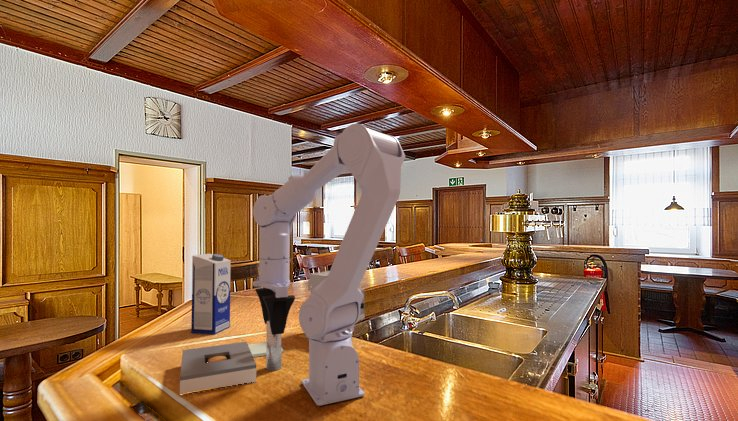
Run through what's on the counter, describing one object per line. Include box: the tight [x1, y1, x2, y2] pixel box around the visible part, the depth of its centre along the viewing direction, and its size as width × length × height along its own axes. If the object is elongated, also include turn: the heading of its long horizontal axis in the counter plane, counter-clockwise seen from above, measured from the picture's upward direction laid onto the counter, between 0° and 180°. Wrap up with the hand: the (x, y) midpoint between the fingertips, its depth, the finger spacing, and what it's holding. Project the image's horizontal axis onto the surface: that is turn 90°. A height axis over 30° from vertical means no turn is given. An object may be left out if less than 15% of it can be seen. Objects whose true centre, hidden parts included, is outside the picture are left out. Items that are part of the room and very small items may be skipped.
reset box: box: [179, 341, 257, 395], centre depth 68 cm, size 14×12×3 cm
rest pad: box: [248, 341, 284, 358], centre depth 80 cm, size 7×7×1 cm
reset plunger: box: [208, 356, 227, 362], centre depth 68 cm, size 3×3×1 cm
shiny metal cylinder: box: [265, 320, 282, 372], centre depth 71 cm, size 3×3×9 cm
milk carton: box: [190, 253, 232, 335], centre depth 96 cm, size 7×7×20 cm
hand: (273, 328), depth 71 cm, fingers open, 7 cm apart
